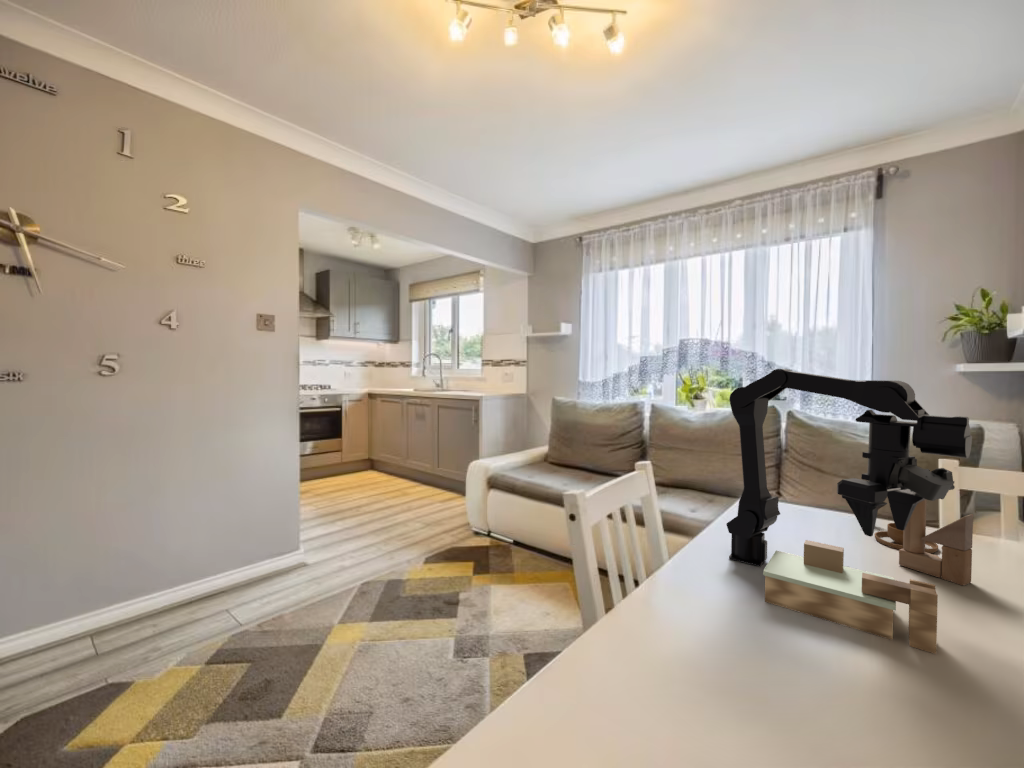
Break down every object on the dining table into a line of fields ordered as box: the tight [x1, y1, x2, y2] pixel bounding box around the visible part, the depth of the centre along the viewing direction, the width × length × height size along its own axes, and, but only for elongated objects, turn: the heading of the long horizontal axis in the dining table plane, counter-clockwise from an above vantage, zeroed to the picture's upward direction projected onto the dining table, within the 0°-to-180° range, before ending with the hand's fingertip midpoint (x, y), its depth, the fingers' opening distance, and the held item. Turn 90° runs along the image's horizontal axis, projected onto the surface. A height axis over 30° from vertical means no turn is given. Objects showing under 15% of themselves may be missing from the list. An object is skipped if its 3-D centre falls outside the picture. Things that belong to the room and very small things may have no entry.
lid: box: [762, 539, 897, 612], centre depth 80 cm, size 19×13×5 cm
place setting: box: [861, 522, 939, 554], centre depth 113 cm, size 18×20×6 cm
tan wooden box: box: [764, 576, 939, 655], centre depth 78 cm, size 23×12×9 cm, turn 49°
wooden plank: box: [862, 573, 938, 606], centre depth 71 cm, size 9×2×2 cm, turn 49°
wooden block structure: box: [898, 499, 974, 586], centre depth 93 cm, size 4×11×18 cm, turn 26°
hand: (884, 532), depth 80 cm, fingers open, 9 cm apart
